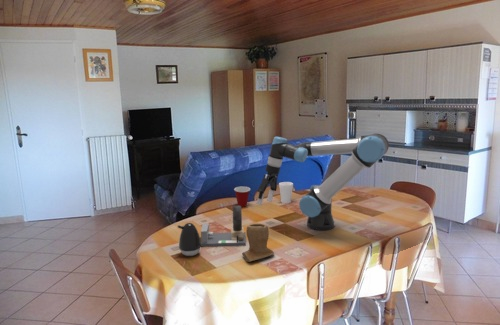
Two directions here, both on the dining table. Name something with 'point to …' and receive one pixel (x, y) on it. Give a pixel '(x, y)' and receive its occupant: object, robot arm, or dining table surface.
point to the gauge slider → (237, 224)
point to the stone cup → (257, 242)
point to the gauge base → (218, 238)
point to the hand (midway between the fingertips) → (264, 202)
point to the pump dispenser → (189, 240)
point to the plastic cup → (242, 195)
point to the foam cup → (286, 191)
